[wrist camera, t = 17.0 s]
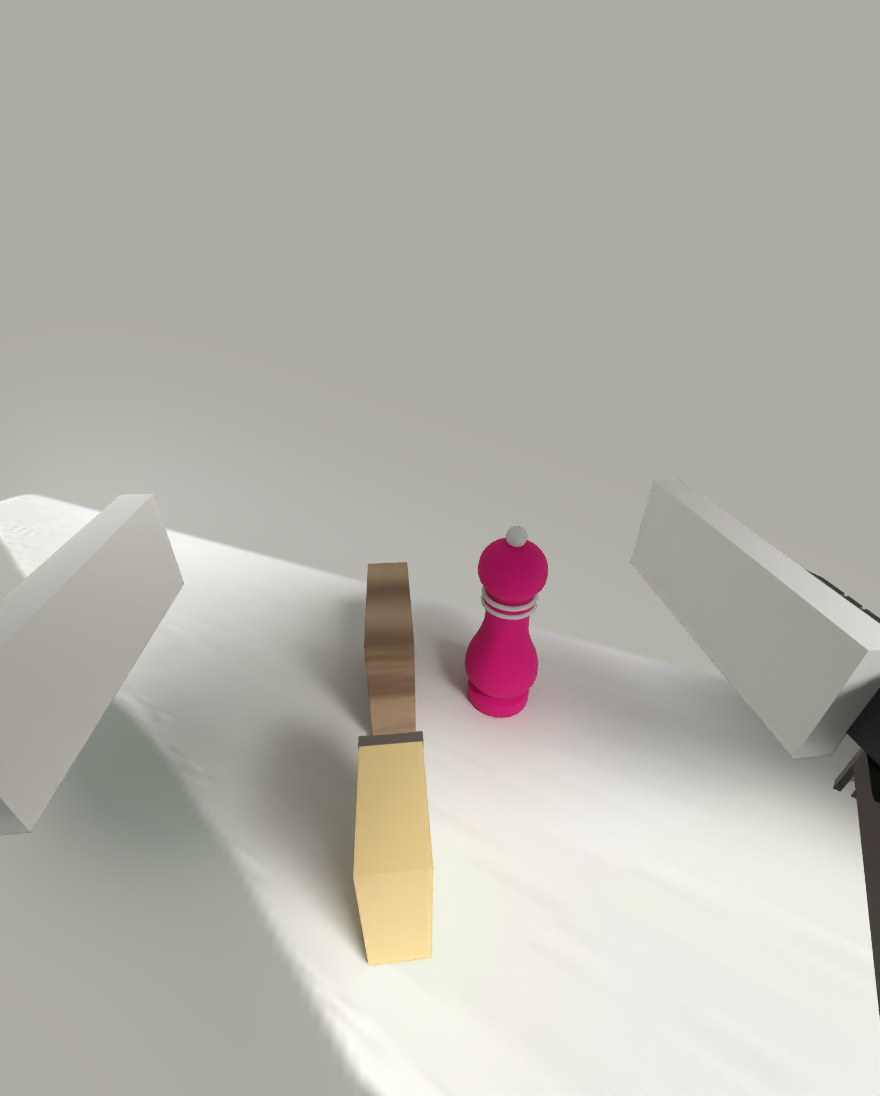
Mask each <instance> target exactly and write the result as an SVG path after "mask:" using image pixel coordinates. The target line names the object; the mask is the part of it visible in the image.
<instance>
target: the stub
mask: <svg viewBox="0 0 880 1096" xmlns="http://www.w3.org/2000/svg"><path fill="white" fill-rule="evenodd" d="M358 748H359V760H358V781H357V803H356V824H355V846H354V867H353V879H354V885H355V891H356V896H357V902H358V908H359V914H360V919H361V925H362V931H363V936H364V942H365V948H366V954H367V959H368V965H369V966H372V965H380V964H387V963H395V962H402V961H410V960H417V959H425V958H431V954H432V904H433V859H432V847H431V836H430V824H429V812H428V801H427V789H426V777H425V766H424V754H423V733H422V731H417V732H405V733H393V734H381V735H368V736H359V741H358Z"/></svg>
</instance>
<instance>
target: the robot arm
mask: <svg viewBox="0 0 880 1096" xmlns="http://www.w3.org/2000/svg"><path fill="white" fill-rule="evenodd" d="M630 563H631V564H632V565H633V567H634V568H635V569H636V570H637V571H638V573H639V574H640V575H641V576H642V577H643V579H644V580H645V581H646V582H647V584H648V585H649V586H650V587H651V588H652V589H653V591H654V592H655V593H656V594H657V595H658V596H659V598H660V599H661V600H662V602H663V603H664V604H665V605H666V606H667V607H668V609H669V610H670V611H671V612H672V614H673V615H674V616H675V617H676V618H677V619H678V621H679V622H680V623H681V624H682V625H683V627H684V628H685V629H686V630H687V632H688V633H689V634H690V635H691V636H692V638H693V639H694V640H695V641H696V642H697V644H698V645H699V646H700V647H701V648H702V650H703V651H704V652H705V653H706V654H707V656H708V657H709V658H710V659H711V661H712V662H713V663H714V664H715V665H716V667H717V668H718V669H719V670H720V671H721V673H722V674H723V675H724V676H725V677H726V679H727V680H728V681H729V682H730V683H731V685H732V686H733V687H734V688H735V689H736V691H737V692H738V693H739V694H740V695H741V697H742V698H743V699H744V700H745V701H746V703H747V704H748V705H749V706H750V707H751V709H752V710H753V711H754V712H755V713H756V715H757V716H758V717H759V718H760V719H761V721H762V722H763V723H764V724H765V725H766V727H767V728H768V729H769V730H770V731H771V733H772V734H773V735H774V736H775V737H776V739H777V740H778V741H779V742H780V744H781V745H782V746H783V747H784V748H785V750H786V751H787V752H788V753H789V754H790V756H791V757H792V758H793V759H796V758H807V757H817V756H827V755H831V754H832V753H833V751H834V750H835V749H836V747H837V746H838V745H839V743H840V742H841V741H842V739H843V738H844V737H845V736H846V734H848V735H849V736H850V737H851V738H852V739H853V740H854V741H855V742H856V743H857V744H858V745H859V746H860V747H861V749H860V750H859V751H858V753H857V754H856V755H855V756H854V758H853V759H852V760H851V761H850V763H849V764H848V765H847V766H846V768H845V769H844V770H843V771H842V772H841V774H840V775H839V776H838V777H837V779H836V780H835V783H834V787H833V788H834V789H836V790H838V791H841V790H842V789H843V788H844V787H845V786H846V784H847V783H848V782H850V781H855V788H856V790H855V791H854V792H853V793H852V794H851V797H854V798H856V799H857V807H858V816H859V826H860V835H861V845H862V854H863V864H864V873H865V883H866V892H867V902H868V911H869V921H870V930H871V940H872V949H873V959H874V968H875V977H876V987H877V996H878V1006H879V1015H880V618H878V617H877V616H876V615H874V614H873V613H871V612H870V611H869V610H867V609H862V605H860V604H859V603H857V602H856V601H855V600H853V599H852V598H850V597H849V596H847V597H846V596H844V593H843V592H842V591H840V590H839V589H838V588H836V587H835V586H834V585H832V584H831V583H829V582H828V581H826V580H825V579H823V578H822V577H820V576H818V575H816V574H813V573H811V572H809V571H807V570H805V569H803V568H802V567H800V566H799V565H798V564H796V563H795V562H793V561H792V560H791V559H789V558H788V557H787V556H785V555H784V554H783V553H781V552H780V551H778V550H777V549H776V548H774V547H773V546H772V545H770V544H769V543H767V542H766V541H765V540H763V539H762V538H761V537H759V536H758V535H756V534H755V533H753V532H752V531H751V530H749V529H748V528H747V527H745V526H744V525H742V524H741V523H740V522H738V521H737V520H735V519H734V518H733V517H731V516H730V515H729V514H727V513H726V512H725V511H723V510H722V509H720V508H719V507H717V506H716V505H715V504H713V503H712V502H711V501H709V500H708V499H707V498H705V497H704V496H702V495H701V494H699V493H698V492H697V491H695V490H694V489H693V488H691V487H690V486H689V485H687V484H686V483H684V482H683V481H682V480H680V479H664V480H663V479H661V480H653V483H652V487H651V490H650V494H649V497H648V501H647V505H646V508H645V512H644V515H643V519H642V522H641V526H640V530H639V533H638V536H637V540H636V543H635V547H634V550H633V554H632V558H631V561H630ZM183 585H184V582H183V579H182V576H181V573H180V570H179V568H178V565H177V562H176V559H175V556H174V553H173V550H172V547H171V544H170V541H169V538H168V535H167V533H166V530H165V527H164V524H163V521H162V518H161V515H160V512H159V510H158V506H157V504H156V500H155V498H154V495H153V494H133V495H120V496H119V497H118V498H116V499H115V500H114V501H113V502H112V503H111V504H110V505H108V506H107V508H105V509H104V510H103V511H102V512H101V513H99V514H98V515H97V516H96V517H95V518H94V519H93V520H91V521H90V522H89V523H88V524H87V525H86V526H85V527H84V528H82V529H81V530H80V531H79V532H78V533H77V534H76V535H75V536H73V537H72V538H71V539H70V540H69V541H68V542H67V543H66V544H64V545H63V546H62V547H61V548H60V549H59V550H58V551H56V552H55V553H54V554H53V555H52V556H51V557H50V558H49V559H47V560H46V561H45V562H44V563H43V564H42V565H41V566H40V567H38V568H37V569H36V570H35V571H34V572H33V573H32V574H30V575H29V576H28V577H27V578H26V579H25V580H24V581H23V582H21V583H20V584H19V585H18V586H17V587H16V588H15V589H14V590H12V591H11V592H10V593H9V594H8V595H7V596H6V597H5V598H3V599H2V600H1V601H0V835H9V834H20V833H30V832H31V831H32V829H33V828H34V826H35V824H36V823H37V821H38V819H39V818H40V816H41V815H42V813H43V811H44V810H45V808H46V806H47V805H48V803H49V801H50V800H51V798H52V797H53V795H54V794H55V792H56V790H57V789H58V787H59V785H60V784H61V782H62V781H63V779H64V777H65V776H66V774H67V772H68V771H69V769H70V768H71V766H72V764H73V763H74V761H75V760H76V758H77V756H78V754H79V753H80V751H81V750H82V748H83V746H84V745H85V743H86V742H87V740H88V738H89V737H90V735H91V733H92V732H93V730H94V729H95V727H96V725H97V724H98V722H99V720H100V719H101V717H102V716H103V714H104V713H105V711H106V709H107V708H108V706H109V704H110V703H111V701H112V700H113V698H114V696H115V695H116V693H117V691H118V690H119V688H120V687H121V685H122V683H123V682H124V680H125V679H126V677H127V675H128V674H129V672H130V670H131V669H132V667H133V666H134V664H135V662H136V661H137V659H138V657H139V656H140V654H141V653H142V651H143V649H144V648H145V646H146V644H147V643H148V641H149V640H150V638H151V636H152V635H153V633H154V632H155V630H156V628H157V627H158V625H159V623H160V622H161V620H162V619H163V617H164V615H165V614H166V612H167V610H168V609H169V607H170V606H171V604H172V602H173V601H174V599H175V597H176V596H177V594H178V593H179V591H180V589H181V588H182V586H183Z"/></svg>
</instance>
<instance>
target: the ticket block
mask: <svg viewBox="0 0 880 1096" xmlns="http://www.w3.org/2000/svg"><path fill="white" fill-rule="evenodd" d="M364 649H365V660H366V670H367V681H368V692H369V702H370V713H371V723H372V734H373V735H381V734H393V733H405V732H415V673H414V638H413V626H412V614H411V602H410V591H409V580H408V568H407V562H403V563H381V564H368V576H367V597H366V620H365V642H364Z"/></svg>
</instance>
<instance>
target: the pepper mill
mask: <svg viewBox="0 0 880 1096" xmlns="http://www.w3.org/2000/svg"><path fill="white" fill-rule="evenodd" d="M478 575H479V578H480V581H481V583H482V584H483V587H482V597H481V602H482V605H483V607H484V608H485V609H486V612H485V618H484V621H483V623H482V625H481V627H480V629H479V630H478V632H477V633H476V634H475V636H474V637H473V639H472V640H471V642H470V644H469V647H468V649H467V653H466V658H465V669H466V673H467V675H468V677H469V680H468V696H469V699H470V701H471V702H472V704H473V705H474V706H475V707H476V708H477V709H478V710H479V711H480V712H482V713H484V714H486V715H489V716H493V717H500V718H503V717H510V716H513V715H515V714H517V713H519V712H520V711H521V710H522V709H523V708H524V707H525V705H526V702H527V699H528V693H529V688H530V687H531V686H532V684H533V683H534V681H535V679H536V676H537V670H538V659H537V654H536V650H535V647H534V645H533V643H532V641H531V638H530V635H529V629H528V626H529V616H530V615H531V614H532V613H533V612H534V611H535V609H536V606H537V600H538V592H540V591H541V590H542V588H543V587H544V585H545V583H546V579H547V576H548V564H547V560H546V557H545V555H544V554H543V552H542V551H541V549H539V547H537V546H536V545H535V544H534V543H532V542H530V541H528V540H527V533H526V531H525V530H524V529H523V528H522V527H520V526H514V527H511V528H510V529H509V530H508V531H507V534H506V538H502V539H498V540H496V541H494V542H492V543H491V544H490V545H488V547H486V548H485V550H484V551H483V553H482V555H481V557H480V560H479V565H478Z"/></svg>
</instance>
